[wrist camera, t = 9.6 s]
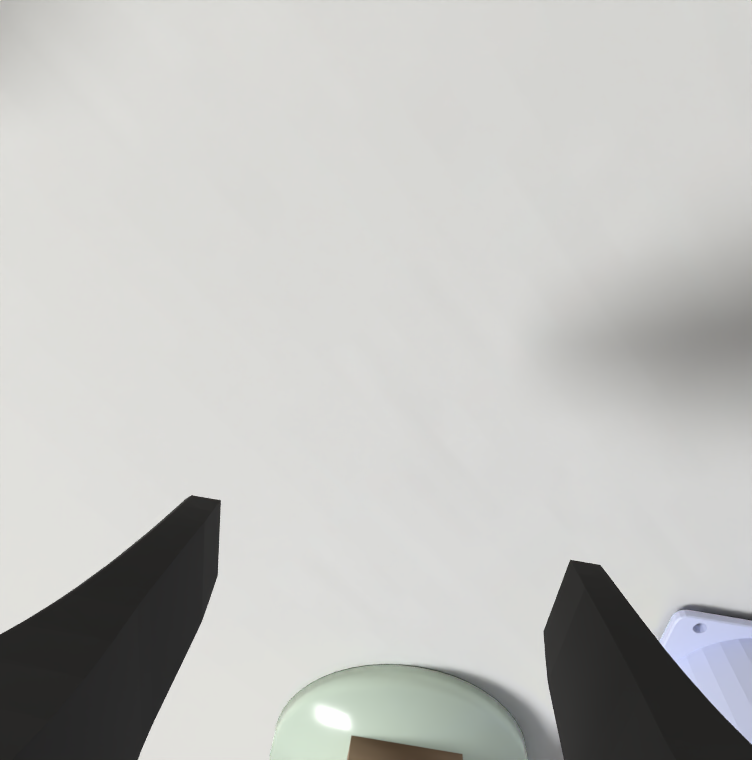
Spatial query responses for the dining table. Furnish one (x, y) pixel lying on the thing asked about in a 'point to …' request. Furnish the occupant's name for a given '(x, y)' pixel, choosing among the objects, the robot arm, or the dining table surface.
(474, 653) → the dining table surface
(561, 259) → the dining table surface
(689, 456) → the dining table surface
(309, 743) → the pale green domed disc
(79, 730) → the robot arm
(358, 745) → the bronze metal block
